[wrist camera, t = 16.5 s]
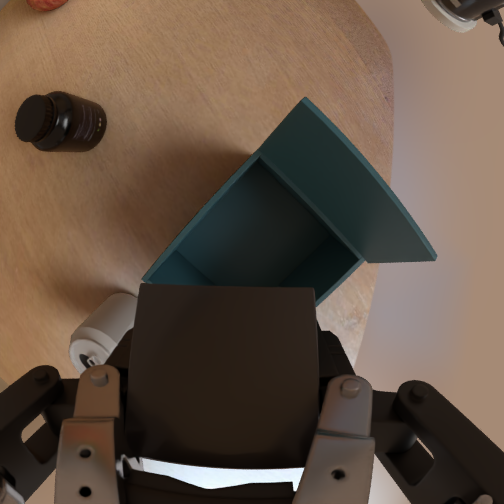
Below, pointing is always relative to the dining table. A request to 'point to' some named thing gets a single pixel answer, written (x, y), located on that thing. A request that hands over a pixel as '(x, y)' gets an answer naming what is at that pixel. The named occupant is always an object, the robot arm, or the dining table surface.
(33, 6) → the fruit
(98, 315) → the can
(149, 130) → the dining table surface
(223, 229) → the carton
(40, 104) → the supplement bottle
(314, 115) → the flap
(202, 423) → the block
